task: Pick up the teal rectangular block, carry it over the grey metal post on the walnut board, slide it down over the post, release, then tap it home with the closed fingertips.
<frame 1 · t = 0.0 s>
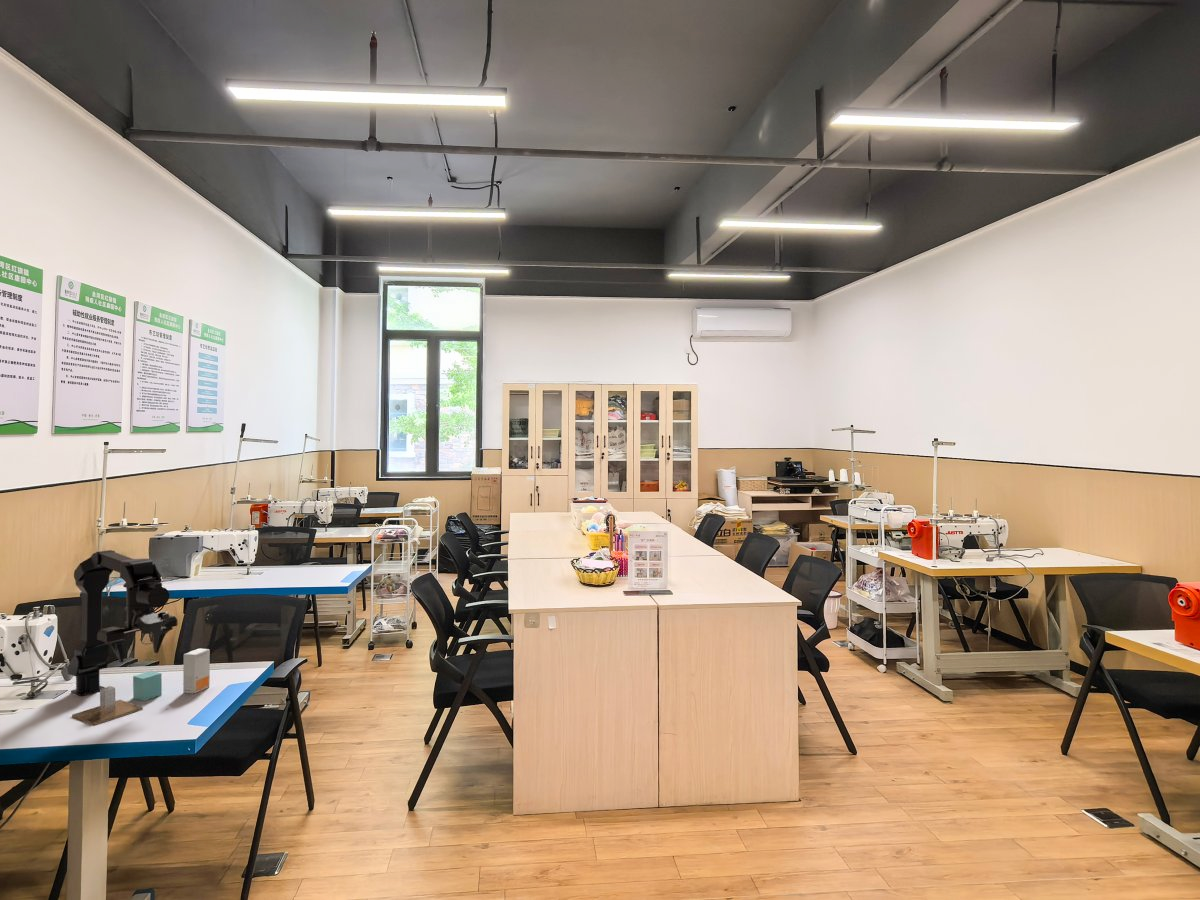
hand: (139, 657, 187), 15 cm above the table, fingers open, 9 cm apart
teal rectangular block: (147, 696, 196), on the table
skincare box: (196, 690, 201), on the table
post: (107, 712, 184), on the table
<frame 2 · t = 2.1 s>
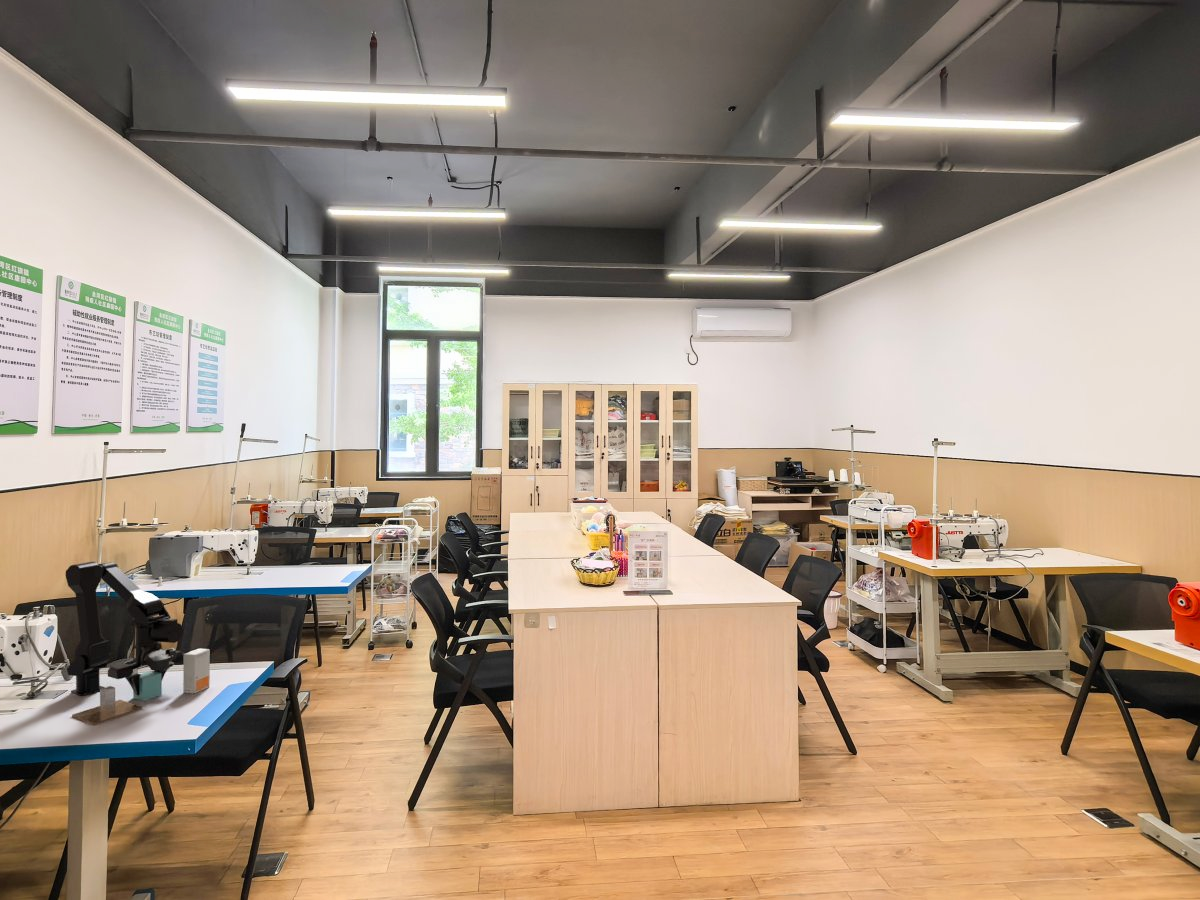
hand: (147, 692, 196), 1 cm above the table, fingers closed on teal rectangular block, 5 cm apart
teal rectangular block: (147, 696, 196), on the table, touching gripper
everything else where it was.
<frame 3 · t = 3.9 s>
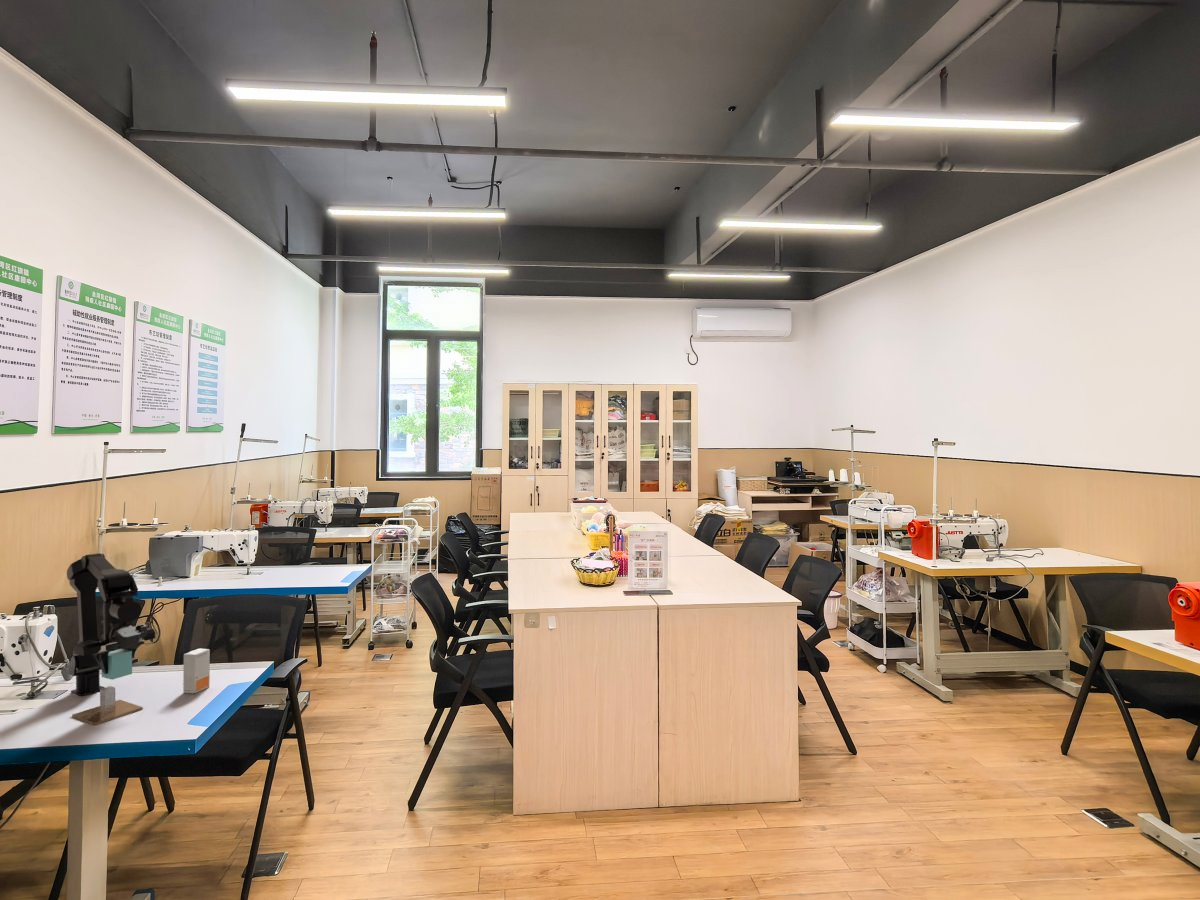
hand: (116, 670, 186), 11 cm above the table, fingers closed on teal rectangular block, 5 cm apart
teal rectangular block: (116, 675, 186), point 10 cm above the table, touching gripper
everything else where it was.
when the fingers open (4 cm above the table, at t = 6.0 s): teal rectangular block drops 1 cm, resting on post.
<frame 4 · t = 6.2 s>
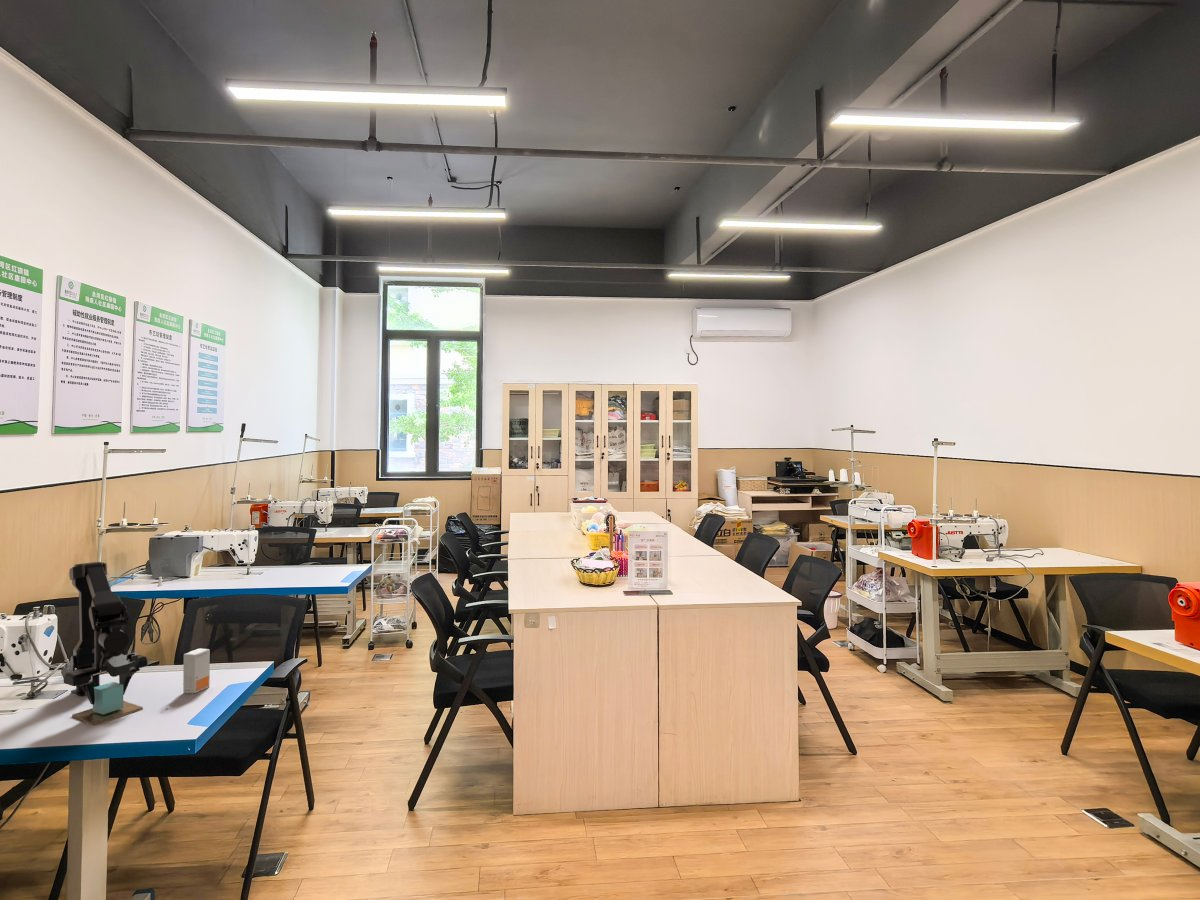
hand: (107, 699, 184), 4 cm above the table, fingers open, 7 cm apart
teal rectangular block: (108, 709, 184), point 1 cm above the table, touching post
everything else where it was.
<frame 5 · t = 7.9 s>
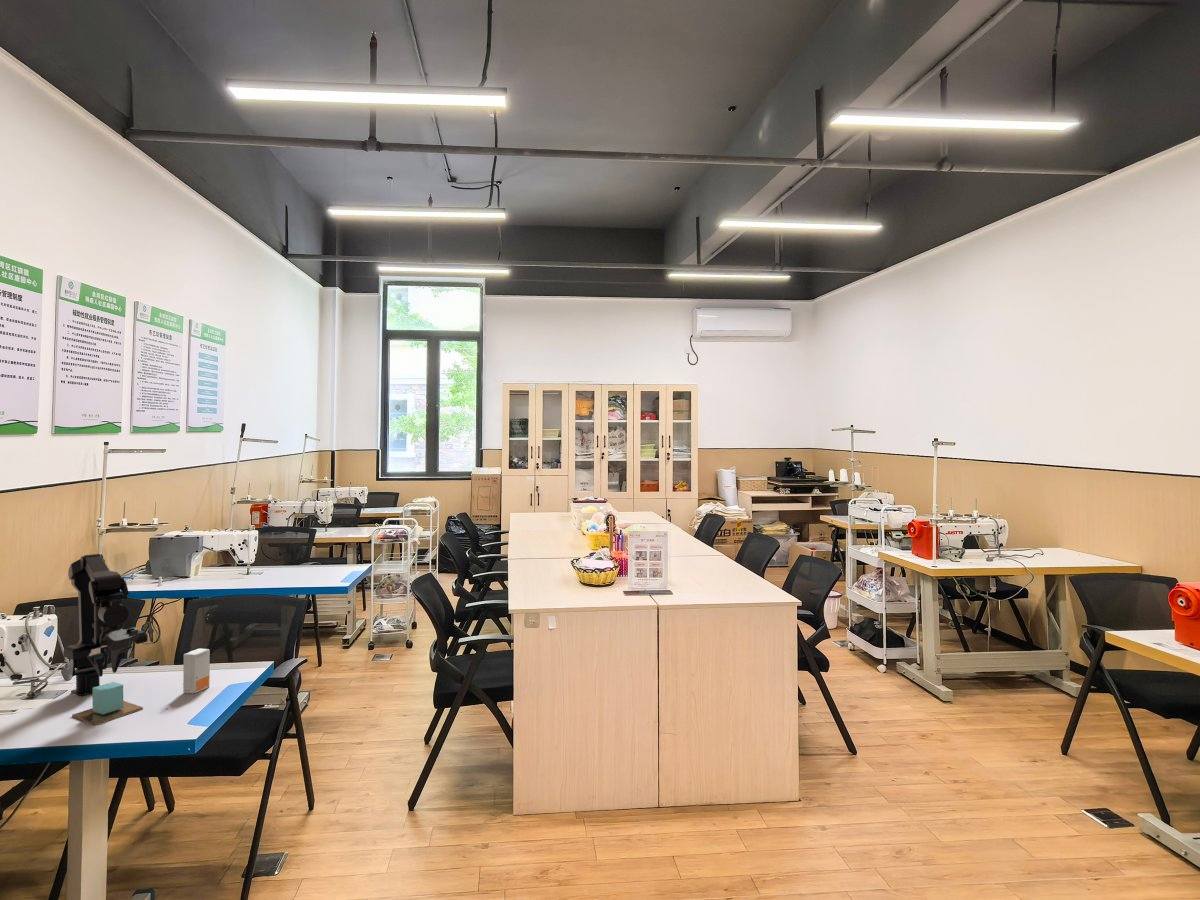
hand: (107, 674, 184), 11 cm above the table, fingers open, 3 cm apart
nothing on the table moved.
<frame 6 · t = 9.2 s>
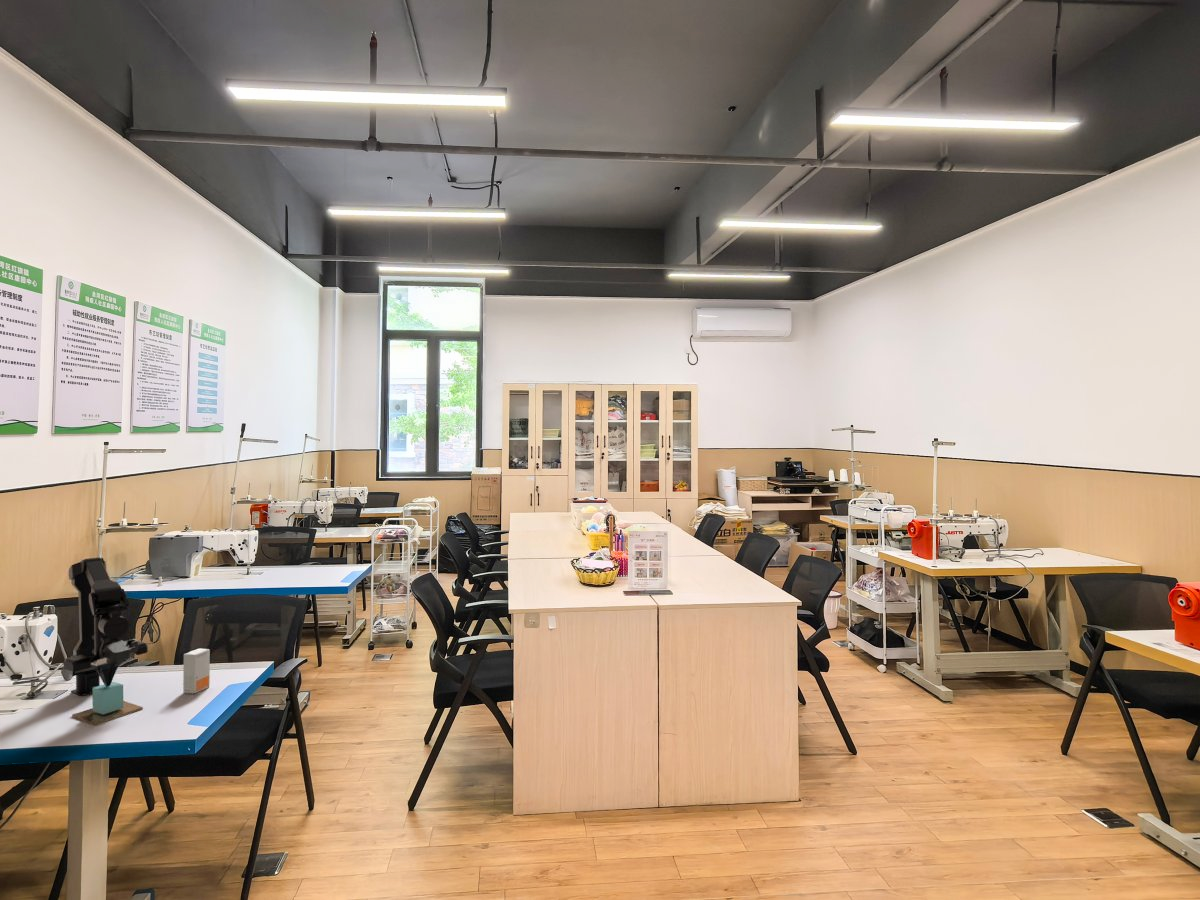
hand: (107, 685, 184), 8 cm above the table, fingers closed
nothing on the table moved.
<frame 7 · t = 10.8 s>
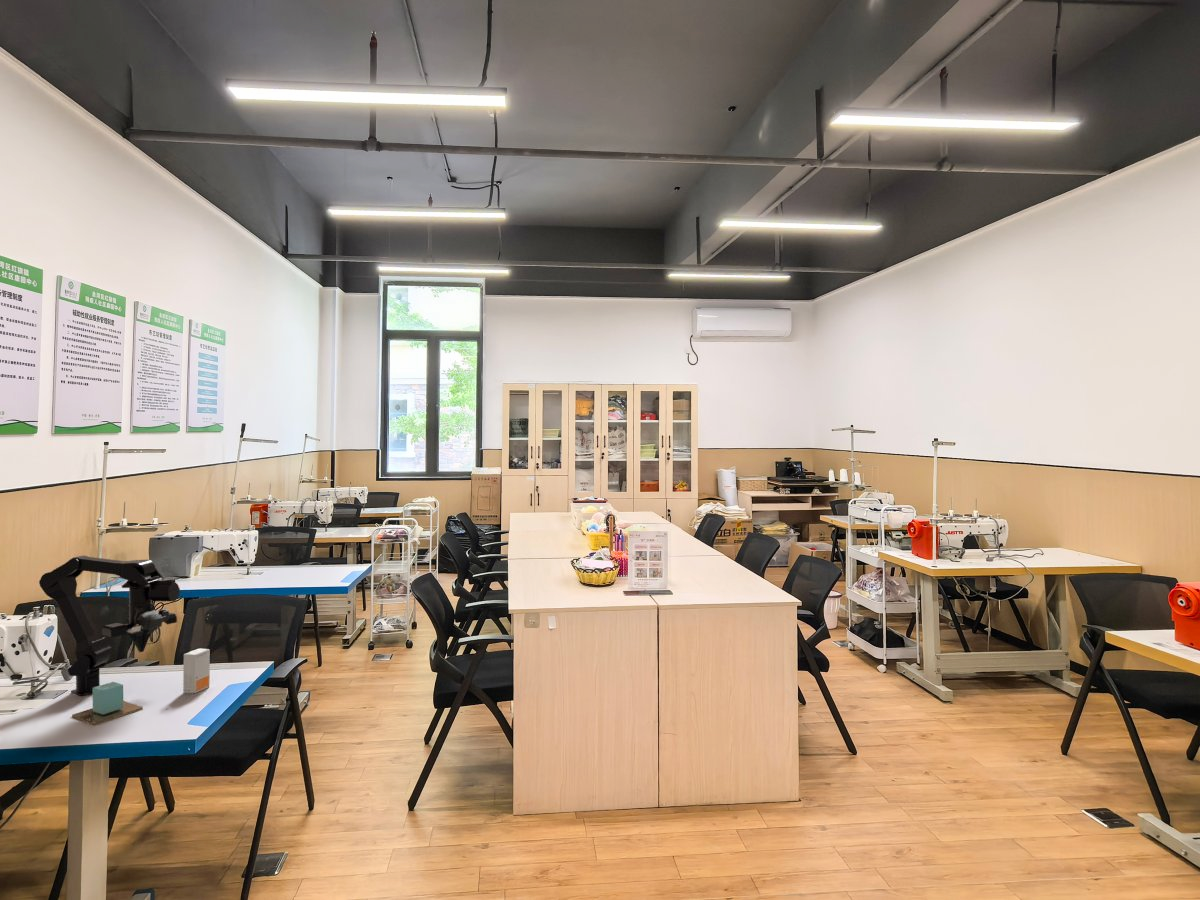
hand: (141, 651, 201), 12 cm above the table, fingers closed
nothing on the table moved.
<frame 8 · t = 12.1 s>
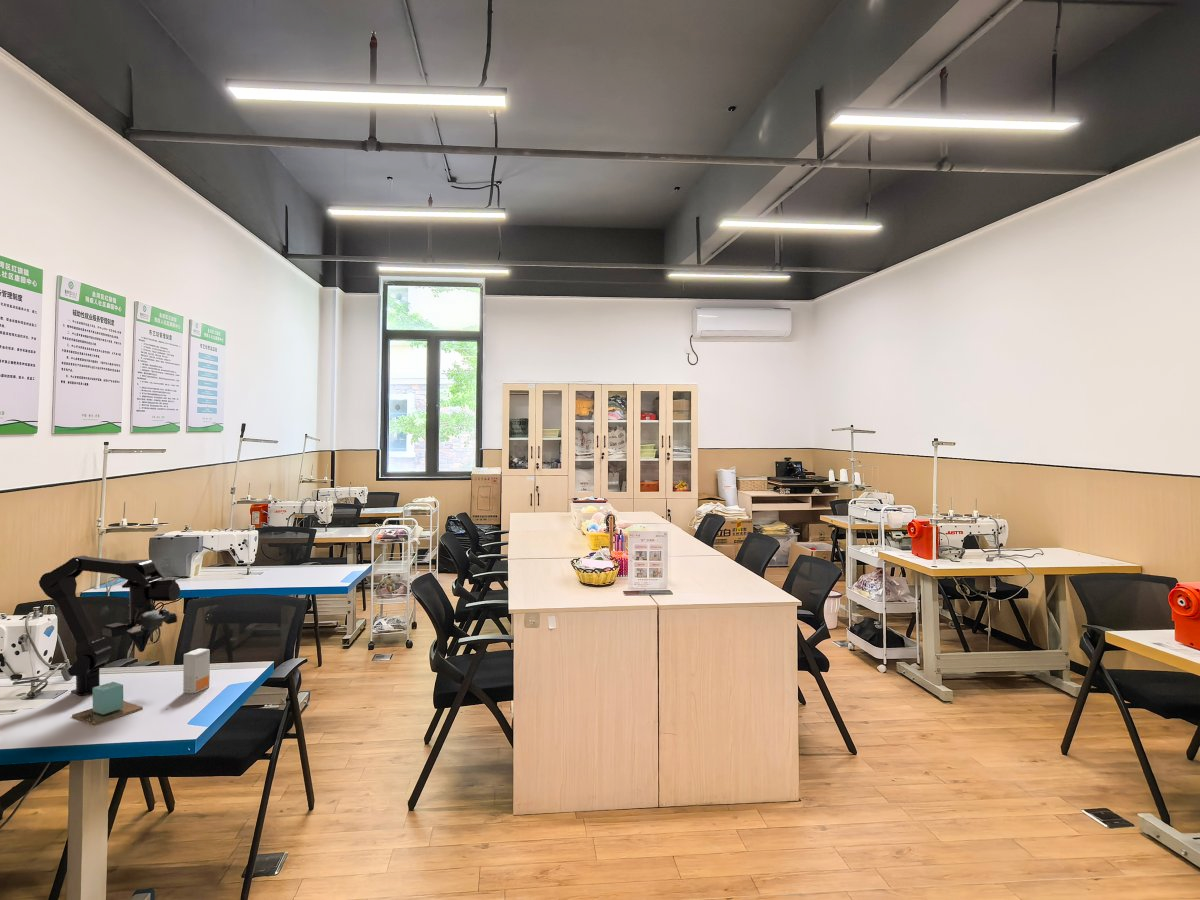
hand: (141, 651, 201), 12 cm above the table, fingers closed
nothing on the table moved.
at the end: teal rectangular block 0.1 cm from the post (horizontally); teal rectangular block point 1.0 cm above the table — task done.
